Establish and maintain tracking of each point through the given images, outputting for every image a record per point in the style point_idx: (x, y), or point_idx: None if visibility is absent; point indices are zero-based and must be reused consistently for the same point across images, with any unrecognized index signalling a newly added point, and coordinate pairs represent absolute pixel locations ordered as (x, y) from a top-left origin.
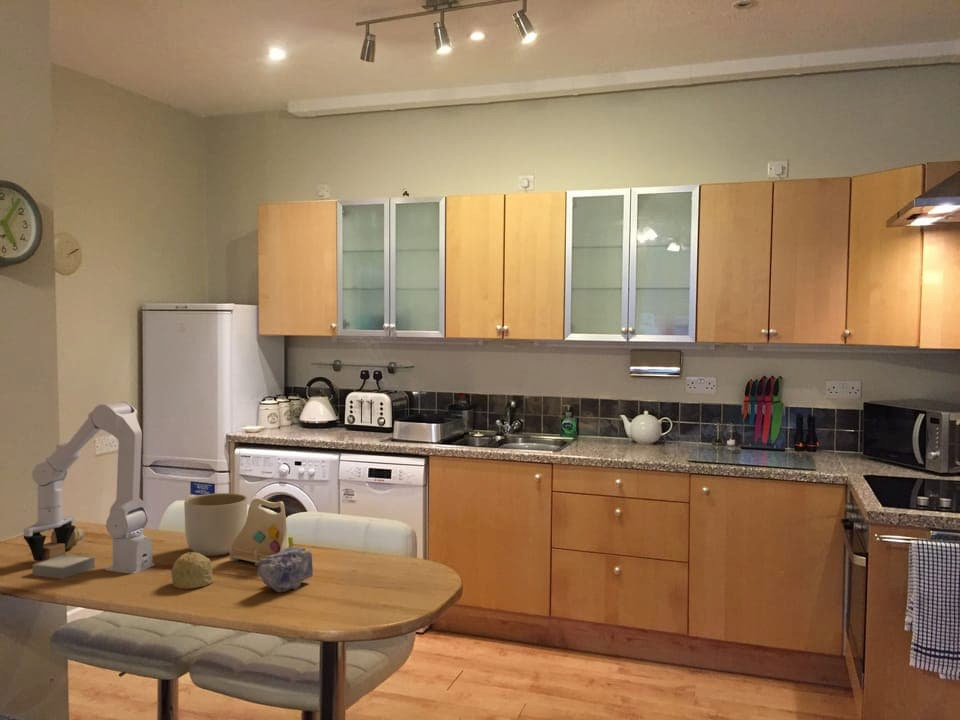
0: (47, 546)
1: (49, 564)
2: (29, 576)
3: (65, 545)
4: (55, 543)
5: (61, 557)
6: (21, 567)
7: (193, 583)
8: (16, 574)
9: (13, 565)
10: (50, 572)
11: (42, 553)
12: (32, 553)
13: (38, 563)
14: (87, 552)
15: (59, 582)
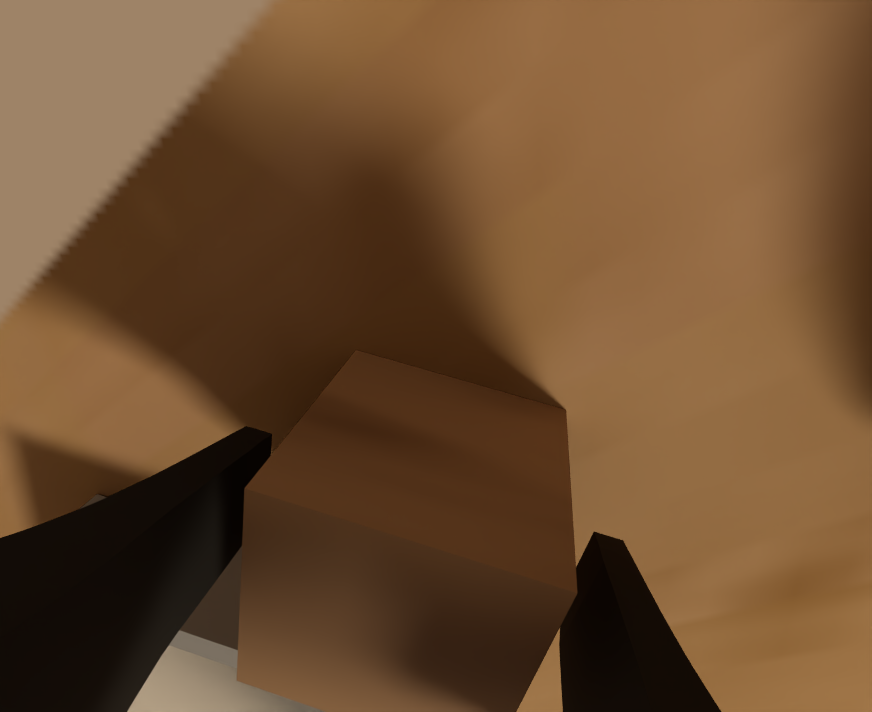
0: (317, 633)
1: None
2: (87, 473)
3: (565, 708)
4: (488, 676)
5: (261, 699)
6: (247, 256)
7: None
8: (73, 348)
9: (282, 91)
10: None
11: (211, 578)
12: (177, 468)
13: None
14: (863, 637)
15: None
